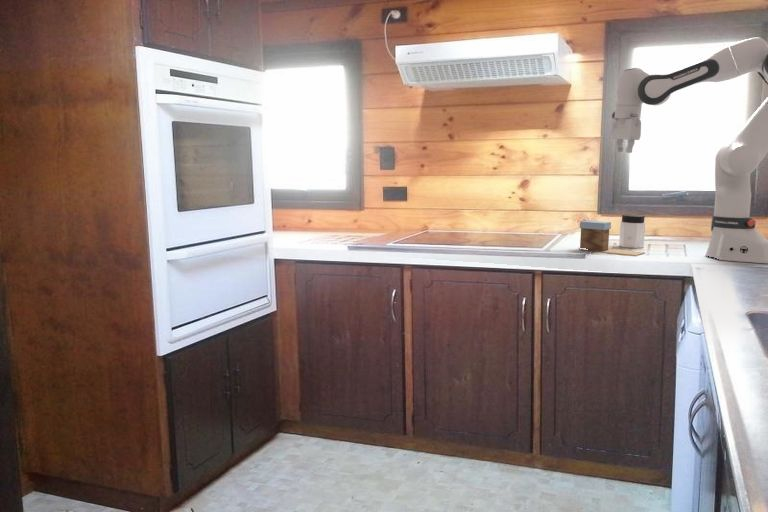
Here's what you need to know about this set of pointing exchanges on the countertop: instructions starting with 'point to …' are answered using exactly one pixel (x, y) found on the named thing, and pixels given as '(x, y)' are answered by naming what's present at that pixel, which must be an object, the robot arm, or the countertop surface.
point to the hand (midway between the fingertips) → (624, 152)
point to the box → (594, 239)
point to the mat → (623, 252)
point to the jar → (632, 231)
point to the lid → (595, 225)
